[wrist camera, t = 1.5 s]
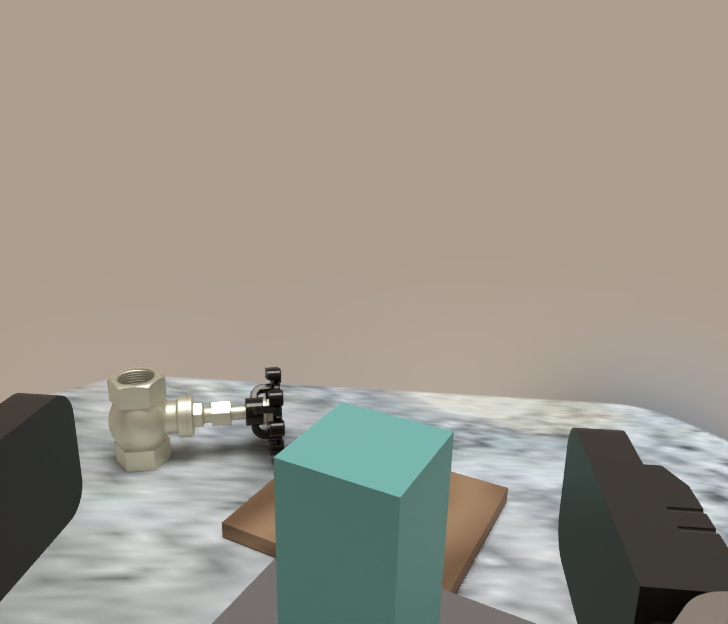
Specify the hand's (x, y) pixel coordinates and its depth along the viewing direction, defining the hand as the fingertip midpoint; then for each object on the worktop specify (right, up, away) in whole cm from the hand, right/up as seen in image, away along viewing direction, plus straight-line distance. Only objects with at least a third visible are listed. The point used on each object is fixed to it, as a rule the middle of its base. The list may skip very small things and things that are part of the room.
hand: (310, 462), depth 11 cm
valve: (-11, -8, +39) cm, 41 cm away
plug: (+1, -16, +17) cm, 23 cm away
